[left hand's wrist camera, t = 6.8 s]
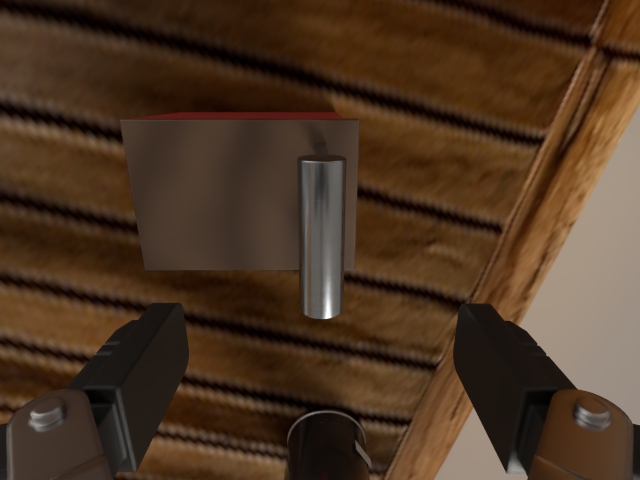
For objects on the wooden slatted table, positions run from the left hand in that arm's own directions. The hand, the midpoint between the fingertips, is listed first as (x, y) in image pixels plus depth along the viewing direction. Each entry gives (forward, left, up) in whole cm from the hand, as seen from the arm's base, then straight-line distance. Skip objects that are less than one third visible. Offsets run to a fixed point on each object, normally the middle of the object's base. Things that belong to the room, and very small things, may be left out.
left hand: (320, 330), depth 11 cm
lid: (-2, +5, -16) cm, 17 cm away
